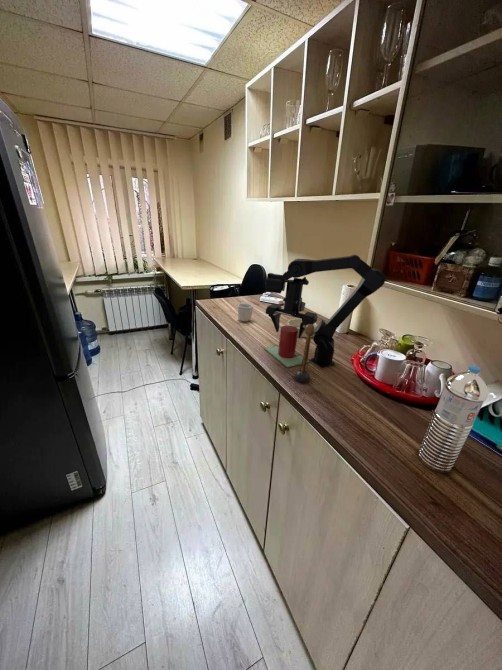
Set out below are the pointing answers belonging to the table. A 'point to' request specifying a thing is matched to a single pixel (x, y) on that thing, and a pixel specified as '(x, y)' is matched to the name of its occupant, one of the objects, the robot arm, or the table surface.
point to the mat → (286, 361)
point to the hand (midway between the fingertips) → (288, 334)
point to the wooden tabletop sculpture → (303, 374)
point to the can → (287, 341)
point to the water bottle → (452, 420)
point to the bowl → (298, 325)
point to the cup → (245, 311)
